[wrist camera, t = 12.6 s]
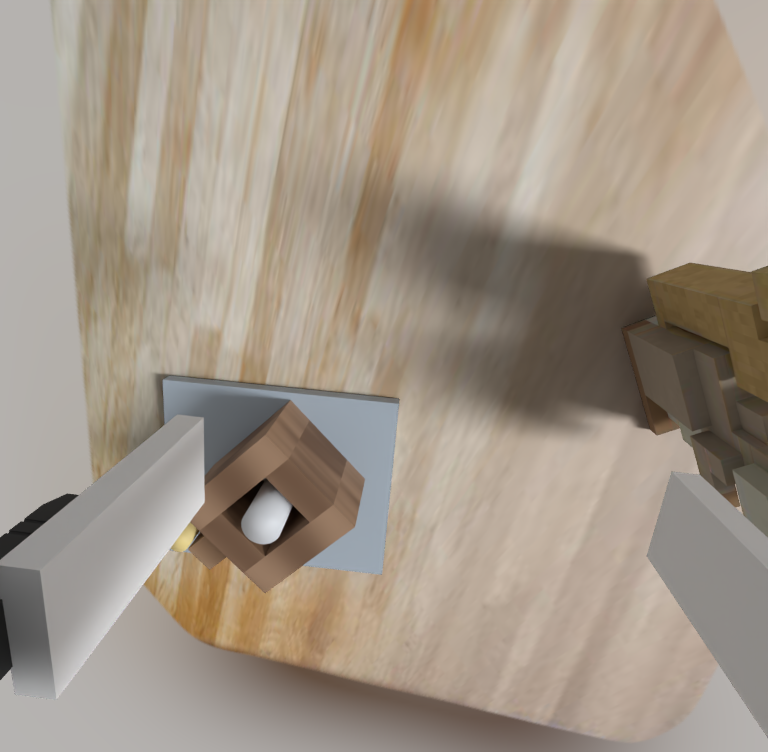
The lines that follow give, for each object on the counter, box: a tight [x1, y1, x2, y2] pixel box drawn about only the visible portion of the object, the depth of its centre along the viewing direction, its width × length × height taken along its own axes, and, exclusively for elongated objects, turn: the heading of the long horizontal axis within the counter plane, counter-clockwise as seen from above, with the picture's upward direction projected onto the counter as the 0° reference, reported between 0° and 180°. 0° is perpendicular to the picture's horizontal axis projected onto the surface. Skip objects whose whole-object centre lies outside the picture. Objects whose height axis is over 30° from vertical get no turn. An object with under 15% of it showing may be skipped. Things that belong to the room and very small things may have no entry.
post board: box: [163, 375, 399, 575], centre depth 40 cm, size 16×19×9 cm
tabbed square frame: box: [188, 400, 365, 593], centre depth 40 cm, size 13×9×7 cm
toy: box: [621, 263, 768, 537], centre depth 30 cm, size 6×17×20 cm, turn 22°
